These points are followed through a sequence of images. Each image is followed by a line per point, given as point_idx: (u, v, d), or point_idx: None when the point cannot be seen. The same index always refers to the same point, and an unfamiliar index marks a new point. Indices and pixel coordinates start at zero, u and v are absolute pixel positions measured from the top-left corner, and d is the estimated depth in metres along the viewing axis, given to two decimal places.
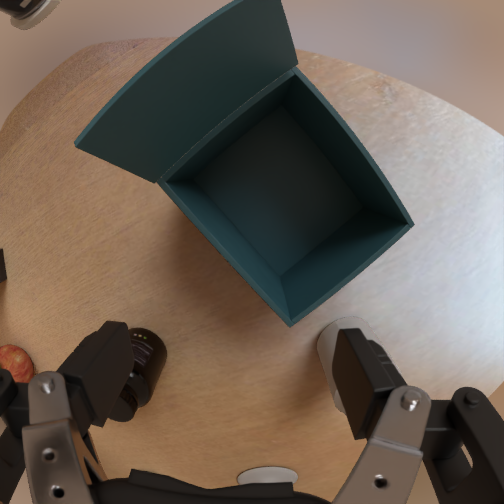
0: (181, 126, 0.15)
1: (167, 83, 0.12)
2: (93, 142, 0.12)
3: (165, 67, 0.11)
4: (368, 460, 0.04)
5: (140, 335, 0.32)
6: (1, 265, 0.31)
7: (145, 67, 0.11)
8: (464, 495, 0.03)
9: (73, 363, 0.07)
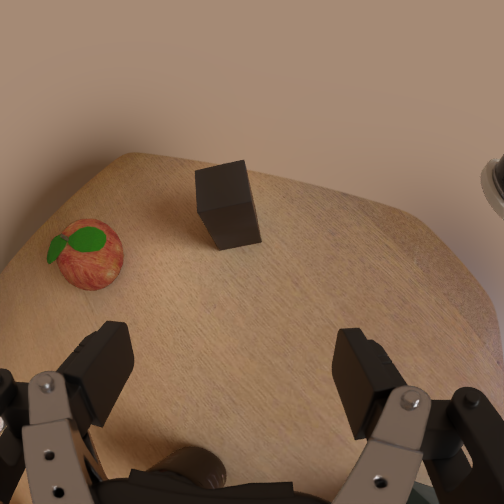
0: None
1: None
2: None
3: None
4: (368, 460, 0.04)
5: (223, 480, 0.22)
6: (239, 243, 0.33)
7: None
8: (465, 495, 0.03)
9: (73, 363, 0.07)
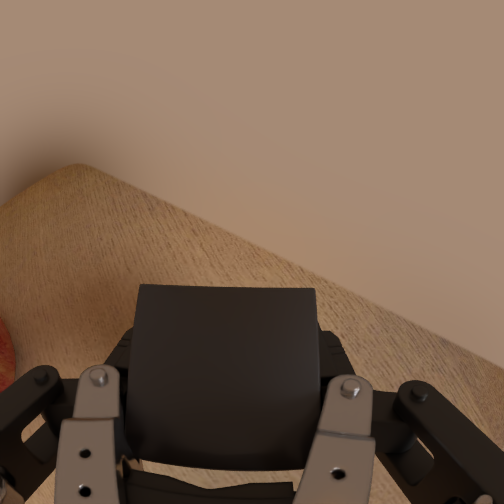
0: None
1: None
2: None
3: None
4: (320, 453, 0.04)
5: None
6: None
7: None
8: (432, 487, 0.04)
9: (123, 356, 0.08)
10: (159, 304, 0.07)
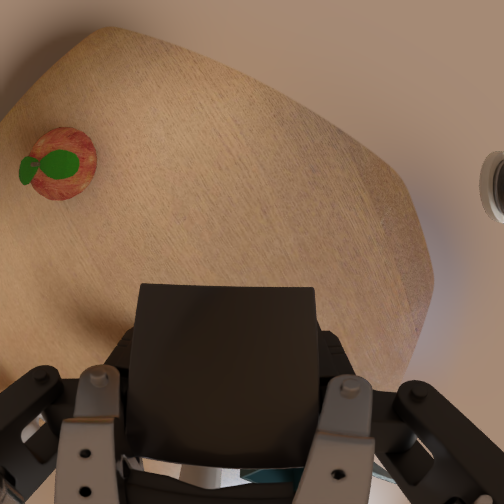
0: None
1: None
2: None
3: None
4: (319, 453, 0.04)
5: None
6: None
7: (380, 476, 0.23)
8: (432, 487, 0.04)
9: (124, 356, 0.08)
10: (160, 303, 0.08)
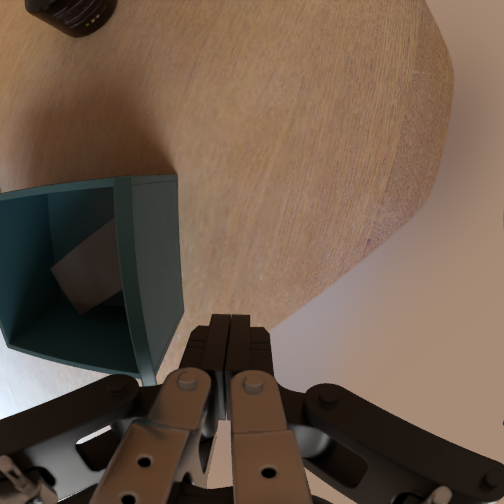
0: None
1: None
2: None
3: None
4: (242, 456, 0.04)
5: (93, 20, 0.17)
6: (69, 289, 0.21)
7: (144, 352, 0.08)
8: (375, 487, 0.04)
9: (205, 357, 0.08)
10: None
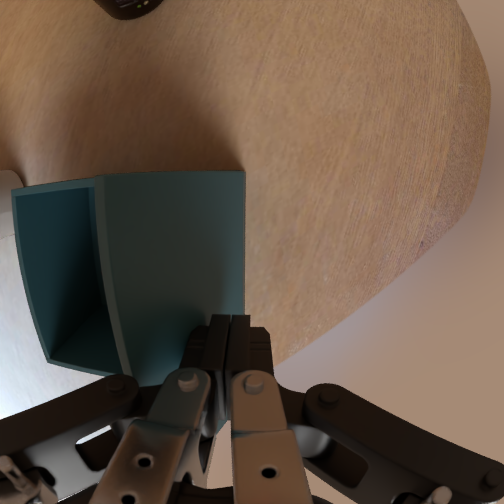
0: None
1: None
2: None
3: None
4: (242, 456, 0.04)
5: (146, 2, 0.17)
6: None
7: (125, 360, 0.07)
8: (375, 488, 0.04)
9: (204, 357, 0.08)
10: None
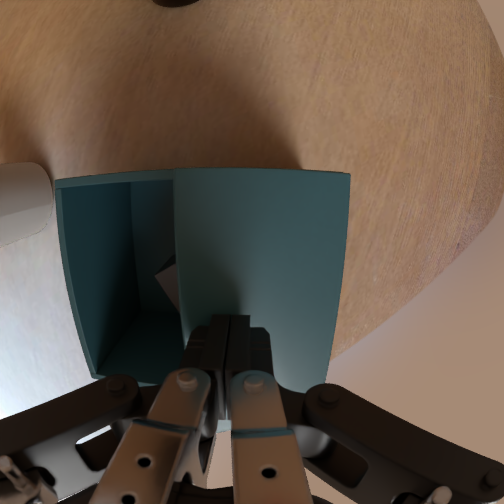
0: None
1: None
2: None
3: None
4: (242, 456, 0.04)
5: None
6: None
7: (180, 306, 0.11)
8: (375, 487, 0.04)
9: (204, 357, 0.08)
10: None
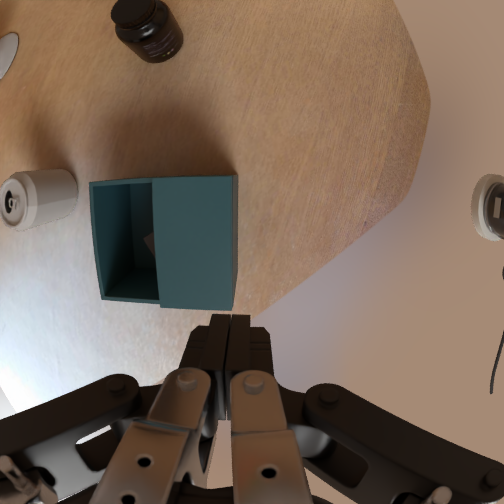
0: None
1: None
2: None
3: None
4: (242, 456, 0.04)
5: (168, 53, 0.29)
6: None
7: (154, 232, 0.26)
8: (375, 488, 0.04)
9: (204, 357, 0.08)
10: None
